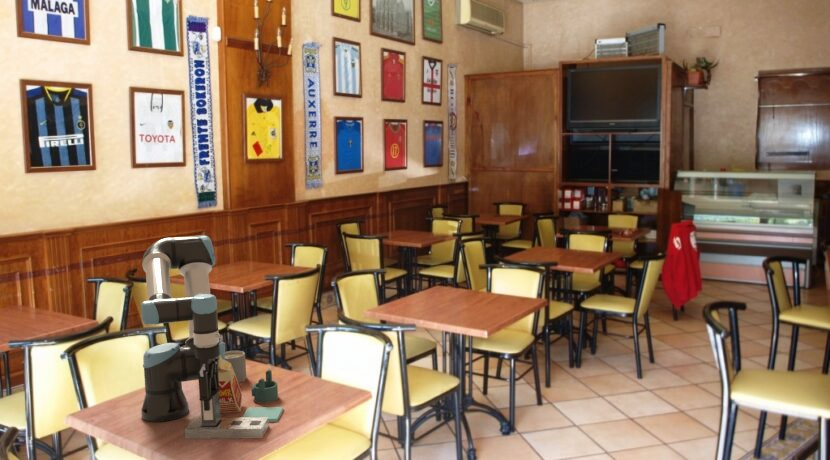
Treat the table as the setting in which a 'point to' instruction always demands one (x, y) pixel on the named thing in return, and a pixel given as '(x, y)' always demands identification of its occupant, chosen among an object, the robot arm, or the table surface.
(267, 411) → the teal pad
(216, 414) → the grey rectangular block
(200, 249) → the robot arm
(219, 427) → the rail
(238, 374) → the coffee mug
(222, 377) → the milk carton
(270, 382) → the bracket
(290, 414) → the table surface
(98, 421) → the table surface
